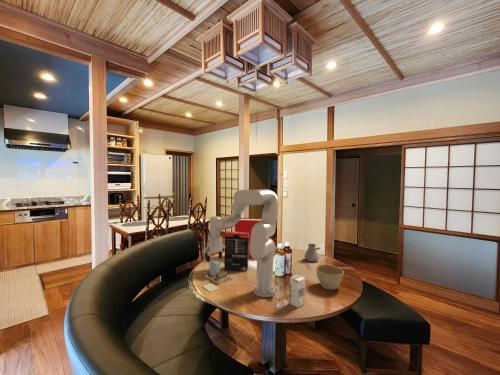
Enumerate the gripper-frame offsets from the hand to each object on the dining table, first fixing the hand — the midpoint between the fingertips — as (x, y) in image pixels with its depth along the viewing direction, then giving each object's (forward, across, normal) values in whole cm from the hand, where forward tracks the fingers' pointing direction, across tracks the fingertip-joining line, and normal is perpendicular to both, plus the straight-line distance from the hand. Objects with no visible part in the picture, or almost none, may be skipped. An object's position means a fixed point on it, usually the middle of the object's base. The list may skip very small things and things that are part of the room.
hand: (214, 259), depth 156 cm
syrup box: (+10, +14, -58) cm, 61 cm away
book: (+11, +45, +12) cm, 48 cm away
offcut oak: (+11, 0, -9) cm, 14 cm away
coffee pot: (+10, +75, -30) cm, 81 cm away
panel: (+11, 0, -1) cm, 11 cm away
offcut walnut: (+9, 0, -9) cm, 12 cm away
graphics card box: (+11, +19, -1) cm, 22 cm away
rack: (+11, 0, -4) cm, 12 cm away
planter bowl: (+9, +46, -59) cm, 75 cm away
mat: (+11, -11, -13) cm, 20 cm away
